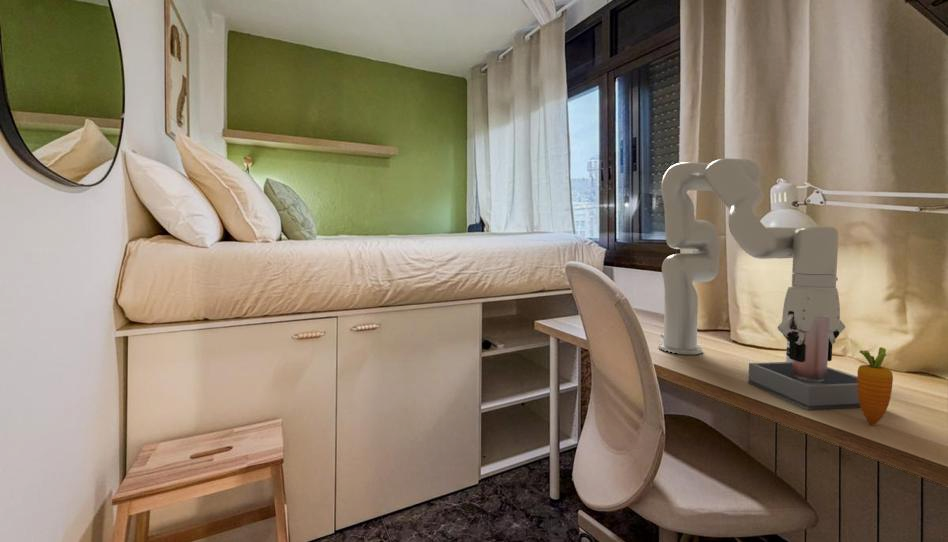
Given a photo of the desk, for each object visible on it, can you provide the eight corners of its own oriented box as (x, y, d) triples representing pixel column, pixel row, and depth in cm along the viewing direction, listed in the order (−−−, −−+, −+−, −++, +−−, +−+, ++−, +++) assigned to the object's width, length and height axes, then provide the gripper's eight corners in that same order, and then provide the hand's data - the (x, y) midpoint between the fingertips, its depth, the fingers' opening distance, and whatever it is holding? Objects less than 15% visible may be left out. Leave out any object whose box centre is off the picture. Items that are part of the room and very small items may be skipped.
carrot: (861, 428, 72) (866, 349, 71) (848, 417, 77) (852, 343, 76) (897, 433, 70) (902, 352, 69) (881, 421, 75) (886, 345, 74)
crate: (748, 382, 96) (749, 363, 95) (808, 380, 97) (809, 361, 97) (808, 410, 80) (809, 387, 80) (879, 407, 81) (880, 384, 81)
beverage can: (789, 371, 92) (792, 310, 91) (822, 375, 89) (825, 312, 88) (794, 379, 87) (797, 314, 86) (829, 384, 84) (833, 316, 83)
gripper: (832, 279, 91) (828, 354, 92) (763, 281, 90) (761, 356, 91) (866, 282, 83) (862, 363, 85) (792, 284, 82) (789, 366, 84)
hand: (809, 359), depth 88 cm, fingers closed on beverage can, 5 cm apart
